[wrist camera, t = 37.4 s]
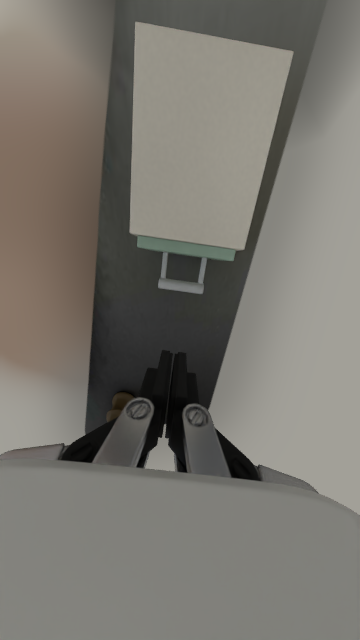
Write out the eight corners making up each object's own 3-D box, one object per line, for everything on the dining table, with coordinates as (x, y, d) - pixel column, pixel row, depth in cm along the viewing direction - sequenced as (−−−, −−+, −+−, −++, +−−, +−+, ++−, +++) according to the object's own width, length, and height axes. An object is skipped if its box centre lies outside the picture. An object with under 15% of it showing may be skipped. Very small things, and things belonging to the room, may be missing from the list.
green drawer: (213, 289, 28) (223, 301, 20) (148, 280, 27) (135, 289, 20) (241, 154, 22) (270, 101, 14) (157, 140, 21) (144, 79, 14)
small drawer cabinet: (223, 252, 26) (244, 250, 18) (147, 241, 26) (129, 233, 17) (247, 137, 22) (294, 50, 13) (155, 121, 21) (135, 20, 12)
